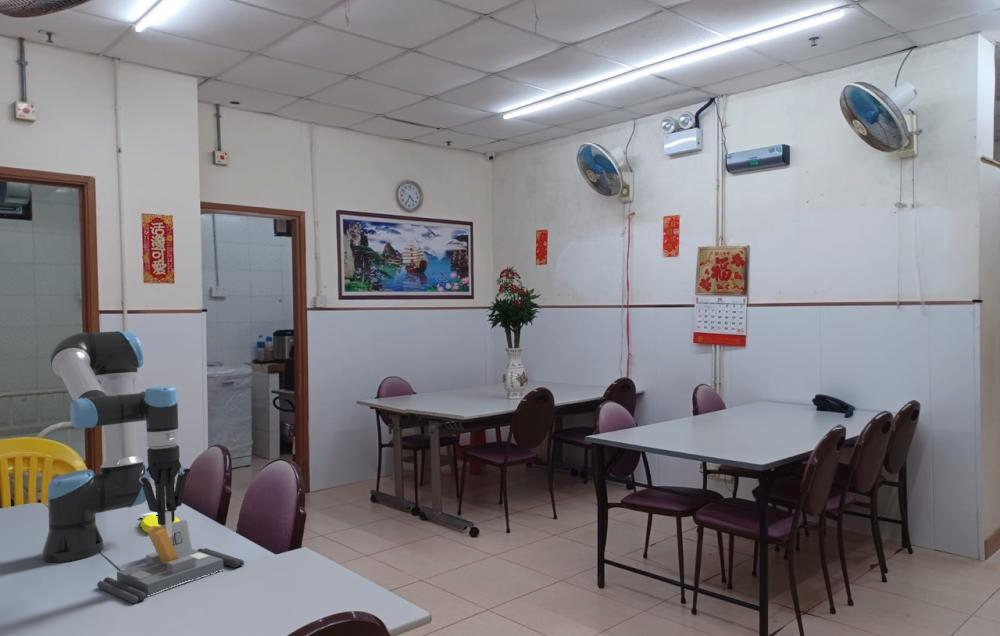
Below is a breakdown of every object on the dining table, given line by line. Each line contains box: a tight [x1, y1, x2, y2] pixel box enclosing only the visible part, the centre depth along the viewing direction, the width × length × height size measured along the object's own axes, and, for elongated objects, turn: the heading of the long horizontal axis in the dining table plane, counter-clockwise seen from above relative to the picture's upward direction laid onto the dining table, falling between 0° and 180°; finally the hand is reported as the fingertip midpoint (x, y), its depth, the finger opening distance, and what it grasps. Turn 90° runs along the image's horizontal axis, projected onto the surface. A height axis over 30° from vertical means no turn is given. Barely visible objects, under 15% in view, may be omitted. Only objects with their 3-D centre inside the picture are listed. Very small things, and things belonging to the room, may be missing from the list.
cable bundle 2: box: [196, 547, 245, 569], centre depth 191 cm, size 19×3×2 cm, turn 53°
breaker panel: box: [116, 548, 224, 595], centre depth 180 cm, size 16×20×5 cm
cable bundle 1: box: [96, 576, 147, 604], centre depth 170 cm, size 19×3×2 cm, turn 53°
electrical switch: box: [155, 519, 193, 553], centre depth 198 cm, size 9×5×9 cm, turn 141°
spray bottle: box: [138, 511, 181, 533], centre depth 229 cm, size 3×11×24 cm
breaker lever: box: [146, 526, 179, 564], centre depth 179 cm, size 7×2×11 cm, turn 53°
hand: (166, 536), depth 179 cm, fingers closed
